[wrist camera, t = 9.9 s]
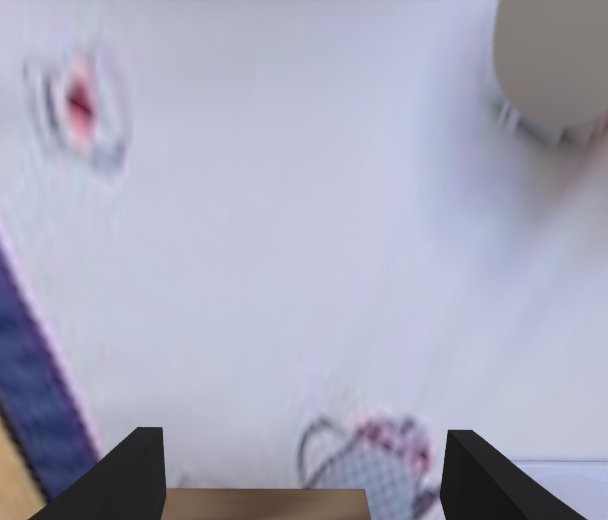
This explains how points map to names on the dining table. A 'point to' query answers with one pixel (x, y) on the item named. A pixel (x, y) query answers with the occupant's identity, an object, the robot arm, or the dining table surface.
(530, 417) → the dining table surface
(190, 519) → the walnut slot holder
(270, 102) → the dining table surface
